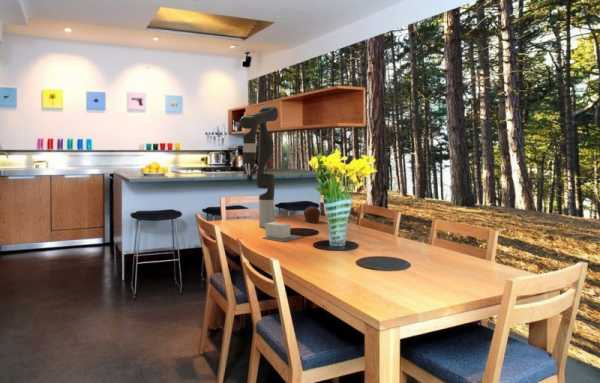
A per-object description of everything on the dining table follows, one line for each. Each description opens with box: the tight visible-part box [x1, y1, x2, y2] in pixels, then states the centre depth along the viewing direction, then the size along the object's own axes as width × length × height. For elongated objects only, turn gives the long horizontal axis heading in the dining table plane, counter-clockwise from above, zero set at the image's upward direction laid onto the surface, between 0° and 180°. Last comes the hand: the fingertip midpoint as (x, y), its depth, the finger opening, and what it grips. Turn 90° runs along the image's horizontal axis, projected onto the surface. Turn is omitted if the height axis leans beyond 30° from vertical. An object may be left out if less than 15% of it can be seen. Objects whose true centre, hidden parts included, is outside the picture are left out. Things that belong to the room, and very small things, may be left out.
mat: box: [262, 233, 304, 243], centre depth 269 cm, size 17×15×1 cm
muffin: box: [303, 206, 321, 224], centre depth 326 cm, size 12×11×10 cm
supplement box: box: [264, 221, 291, 239], centre depth 269 cm, size 7×7×13 cm
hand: (249, 181), depth 278 cm, fingers closed
